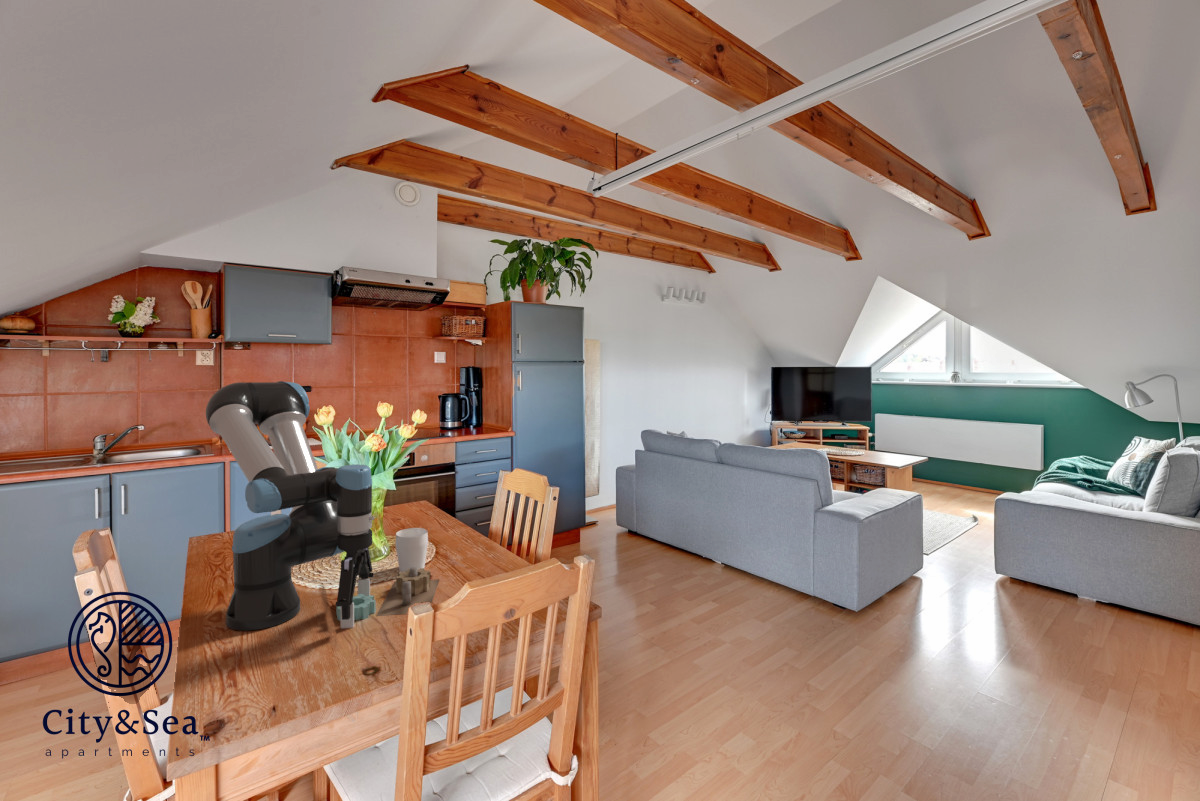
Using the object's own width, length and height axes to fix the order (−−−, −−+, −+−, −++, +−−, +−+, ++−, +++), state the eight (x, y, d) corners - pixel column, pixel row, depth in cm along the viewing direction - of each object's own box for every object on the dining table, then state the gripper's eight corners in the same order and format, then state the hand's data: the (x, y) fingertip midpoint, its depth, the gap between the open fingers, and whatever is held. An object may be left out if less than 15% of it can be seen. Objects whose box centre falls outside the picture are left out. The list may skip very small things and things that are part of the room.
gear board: (376, 620, 126) (375, 593, 125) (394, 585, 145) (394, 562, 145) (428, 617, 128) (428, 590, 127) (439, 583, 147) (439, 560, 147)
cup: (417, 580, 149) (417, 538, 149) (389, 577, 151) (388, 536, 150) (433, 568, 158) (433, 529, 157) (406, 565, 160) (406, 526, 159)
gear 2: (400, 598, 135) (399, 583, 135) (393, 586, 142) (393, 571, 142) (434, 591, 139) (434, 576, 139) (426, 579, 147) (425, 565, 146)
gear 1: (331, 627, 122) (330, 611, 122) (342, 610, 130) (342, 595, 130) (370, 625, 123) (370, 609, 123) (379, 608, 132) (379, 593, 131)
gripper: (356, 548, 114) (357, 642, 115) (384, 515, 138) (385, 593, 140) (319, 549, 112) (320, 645, 114) (353, 516, 137) (355, 595, 138)
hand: (356, 617), depth 127 cm, fingers open, 13 cm apart
